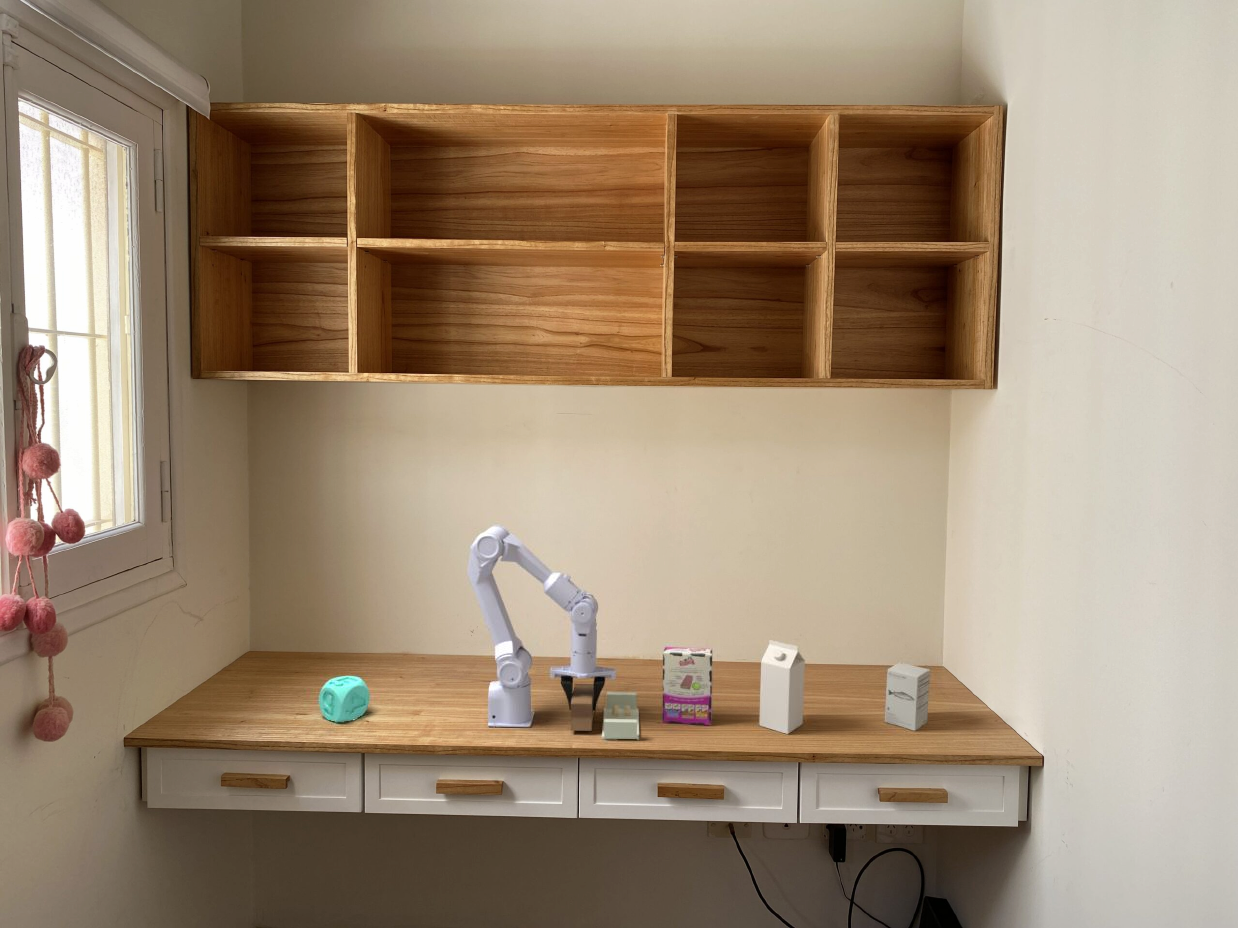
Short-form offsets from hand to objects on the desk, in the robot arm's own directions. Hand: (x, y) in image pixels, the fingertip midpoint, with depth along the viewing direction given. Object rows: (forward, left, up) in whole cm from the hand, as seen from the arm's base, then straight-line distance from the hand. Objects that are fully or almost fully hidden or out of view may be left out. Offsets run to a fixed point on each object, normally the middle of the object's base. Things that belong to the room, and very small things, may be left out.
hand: (582, 708), depth 183 cm
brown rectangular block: (0, 0, -2) cm, 2 cm away
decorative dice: (-54, +2, -4) cm, 55 cm away
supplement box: (+74, +4, -4) cm, 74 cm away
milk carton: (+45, +1, -4) cm, 45 cm away
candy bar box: (+24, +3, -4) cm, 24 cm away
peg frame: (+9, 0, -3) cm, 9 cm away
